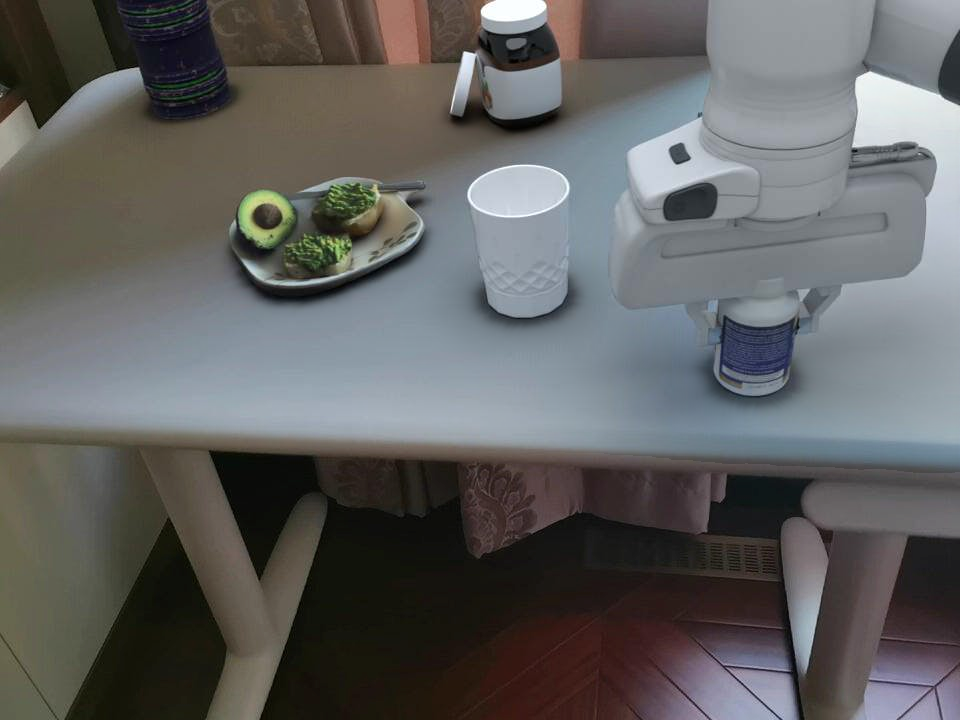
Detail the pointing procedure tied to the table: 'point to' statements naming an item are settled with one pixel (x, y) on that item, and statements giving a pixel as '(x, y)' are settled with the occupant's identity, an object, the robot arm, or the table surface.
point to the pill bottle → (757, 339)
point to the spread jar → (513, 65)
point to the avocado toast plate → (323, 233)
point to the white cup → (522, 237)
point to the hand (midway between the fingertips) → (754, 334)
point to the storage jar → (177, 56)
